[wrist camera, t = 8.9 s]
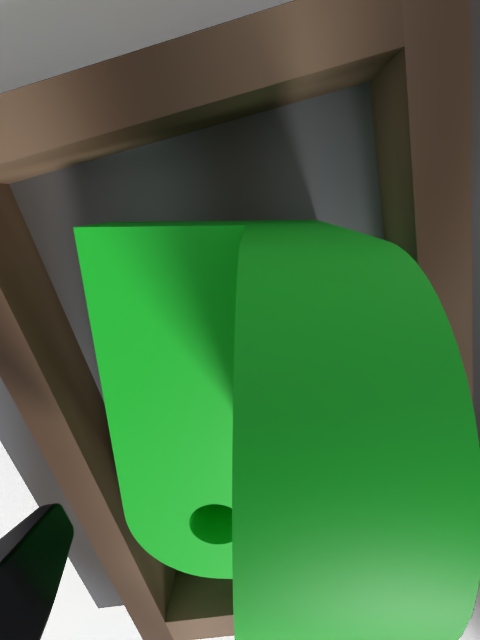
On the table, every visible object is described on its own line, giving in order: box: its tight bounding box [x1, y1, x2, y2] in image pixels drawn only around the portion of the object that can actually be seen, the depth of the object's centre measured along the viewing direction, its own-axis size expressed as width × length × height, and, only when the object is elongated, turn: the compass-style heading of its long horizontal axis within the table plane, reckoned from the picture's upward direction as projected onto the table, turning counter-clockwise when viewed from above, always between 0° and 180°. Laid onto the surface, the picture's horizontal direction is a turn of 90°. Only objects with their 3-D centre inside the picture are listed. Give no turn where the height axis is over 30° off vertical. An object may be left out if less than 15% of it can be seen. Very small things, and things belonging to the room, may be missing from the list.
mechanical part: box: [73, 220, 480, 640], centre depth 8 cm, size 12×6×8 cm, turn 1°
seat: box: [0, 0, 480, 640], centre depth 11 cm, size 19×20×3 cm
